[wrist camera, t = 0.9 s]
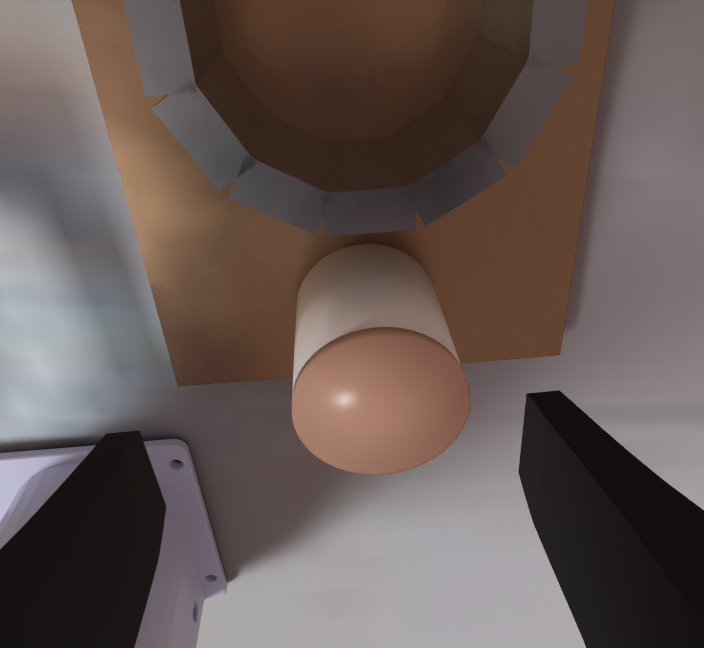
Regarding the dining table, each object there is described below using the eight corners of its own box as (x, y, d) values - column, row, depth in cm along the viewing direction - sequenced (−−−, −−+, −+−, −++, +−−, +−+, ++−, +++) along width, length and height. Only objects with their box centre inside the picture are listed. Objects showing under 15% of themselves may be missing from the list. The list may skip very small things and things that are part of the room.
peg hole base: (550, 338, 21) (608, 436, 17) (183, 368, 21) (150, 474, 17) (631, -238, 13) (783, -326, 9) (34, -197, 13) (-103, -267, 9)
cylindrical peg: (434, 358, 20) (466, 467, 16) (304, 368, 20) (301, 480, 16) (436, 238, 18) (474, 328, 14) (288, 249, 18) (280, 344, 14)
